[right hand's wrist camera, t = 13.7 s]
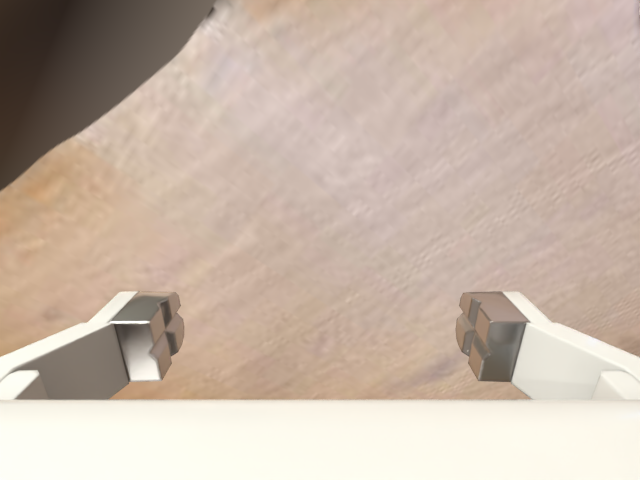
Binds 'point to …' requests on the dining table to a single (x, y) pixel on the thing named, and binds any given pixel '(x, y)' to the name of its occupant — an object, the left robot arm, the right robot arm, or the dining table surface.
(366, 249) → the dining table surface
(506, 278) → the dining table surface
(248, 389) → the dining table surface
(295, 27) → the dining table surface
